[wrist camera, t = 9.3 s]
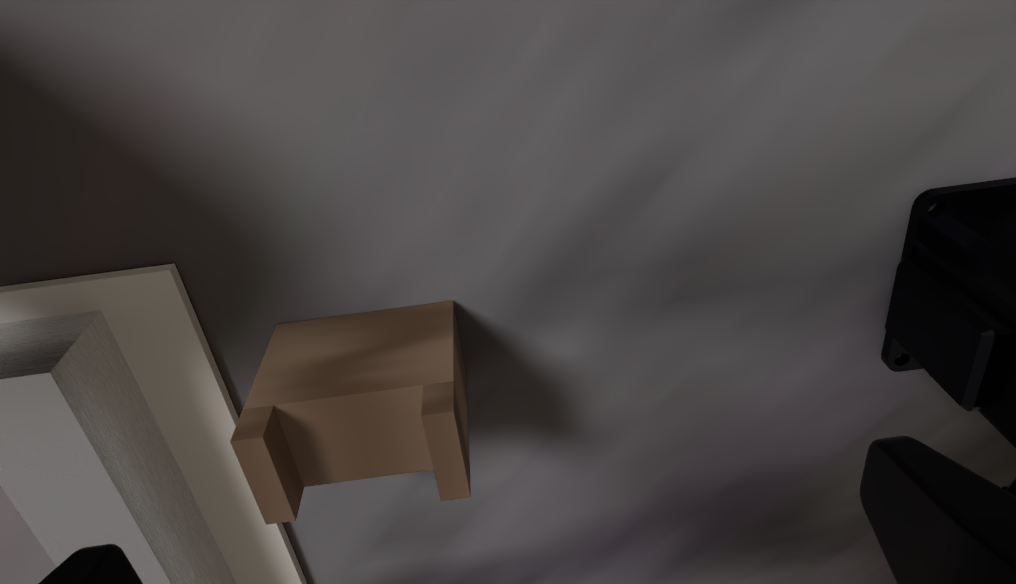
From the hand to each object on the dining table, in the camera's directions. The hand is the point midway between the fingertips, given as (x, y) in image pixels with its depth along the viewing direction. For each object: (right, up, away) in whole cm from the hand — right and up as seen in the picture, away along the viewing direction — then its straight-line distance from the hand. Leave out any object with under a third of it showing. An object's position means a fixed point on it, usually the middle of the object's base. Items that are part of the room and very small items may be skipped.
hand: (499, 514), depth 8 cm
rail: (-12, -7, +17) cm, 22 cm away
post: (-4, +1, +14) cm, 14 cm away
